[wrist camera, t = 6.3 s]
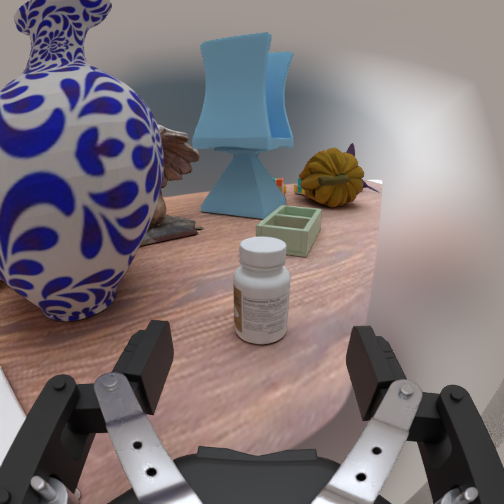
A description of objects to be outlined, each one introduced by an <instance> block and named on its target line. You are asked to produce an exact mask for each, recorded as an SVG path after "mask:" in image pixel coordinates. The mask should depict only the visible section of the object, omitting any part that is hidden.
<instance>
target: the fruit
mask: <svg viewBox="0 0 504 504" xmlns="http://www.w3.org/2000/svg"><path fill="white" fill-rule="evenodd" d="M299 177H300V179H301V180H302V181H301V183H300V185H301V188H302V189H304V190H305V196H306V197H307V198H309V199H313V200H315V201H317V202H319V203H321V204H325V205H327V206H329V207H332V208H333V207H336V206H342V205H344V204H345V203H350V202H353V201H354V200H355V198H356V195H358V194H359V193H360V192H361V191H362V190H363V181H362V179H361V178H363V177H364V171H363V170H362V168H361V167H359V166H358V161H357V159H356V158H355V157H354V156H353V155H352V154H349V153H345V152H344V153H342V152H341V151H340V150H338V149H337V148H331V149H328V150H327V151H325V150H324V151H321V152H318V153H317V154H315V155H314V157H312V158H311V159H310V160H309V161H308V162H307V164H306V166H305V168H304V170H303V171H302V172H301V174H300V175H299Z"/></svg>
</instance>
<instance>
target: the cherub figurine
mask: <svg viewBox="0 0 504 504" xmlns="http://www.w3.org/2000/svg"><path fill="white" fill-rule="evenodd" d="M157 126H158V130H159V133H160V137H161V142H162V148H163V154H164V170H163V182H162V186H161V188H164V187H165V186H166V184H167V181H168V180H169V181H171V180H181V179H182V177H181V176H182V175H183V174H188V173H191V171H192V167H191V165H190V164H189V163H190V162H196V161H199V157H200V156H199V152H198V151H197V150H196V149H195V148H194V147H192V146H190V145H188V144H184V143H185V142H187V141H189V138H188V136H187V134H186V133H181V132H176V131H172V130H170V129H167V128H165V127H163V126H160V125H157ZM194 224H195V222H194V221H192V220H189V219H186V218H180V217H173V216H169V215H166V205H165V202H164V200H163V198H162V193H161V190H160V195H159V199H158V203H157V206H156V209H155V211H154V214H153V217H152V219H151V222H150V225H149V227H148V230H147V232H146V234H145V236H144V238H143V240H142V242H141V245H146V244H151V243H155V242H160V241H165V240H169V239H174V238H179V237H184V236H189V235H194V234H198V232H197V231H196V230H194V229H204V228H202V227H196V228H194ZM141 245H140V246H141Z"/></svg>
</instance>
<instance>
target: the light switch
mask: <svg viewBox="0 0 504 504" xmlns="http://www.w3.org/2000/svg"><path fill="white" fill-rule="evenodd" d="M26 417H27V416H26V414H25V413H24V411H23V409H22V407H21V405H20V404H19V402H18V400H17V398H16V396H15V394H14V392H13V390H12V388H11V386H10V384H9V382H8V380H7V378H6V376H5V374H4V372H3V369H2V367H1V365H0V466H1V464H2V462H3V460H4V458H5V456H6V454H7V452H8V450H9V448H10V446H11V445H12V443H13V441H14V439H15V437H16V435H17V433H18V431H19V430H20V428H21V426H22V424H23V422H24V421H25V419H26ZM74 495H75V496H76V497H77V499H79V497H80V496H81V494H80V492H79V491H78V489H77V488H76V490H75V493H74Z"/></svg>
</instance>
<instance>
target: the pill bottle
mask: <svg viewBox="0 0 504 504" xmlns="http://www.w3.org/2000/svg"><path fill="white" fill-rule="evenodd" d="M285 260H286V244H285V242H283V241H282V240H280V239H277V238H272V237H251V238H248V239H245V240H243V241H242V242H241V243H240V260H239V262H240V264H241V266H240V267H238V268H237V269H236V271H235V273H234V319H235V331H236V333H237V334H238V336H239V337H240V338H242V339H243V340H245V341H247V342H250V343H254V344H268V343H272V342H275V341H278V340H279V339H281V338H282V337H283V336H284V335H285V333H286V330H287V319H288V307H289V293H290V273H289V272H288V270H287V269H286V268H285V267H283V266H284V264H285Z"/></svg>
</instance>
